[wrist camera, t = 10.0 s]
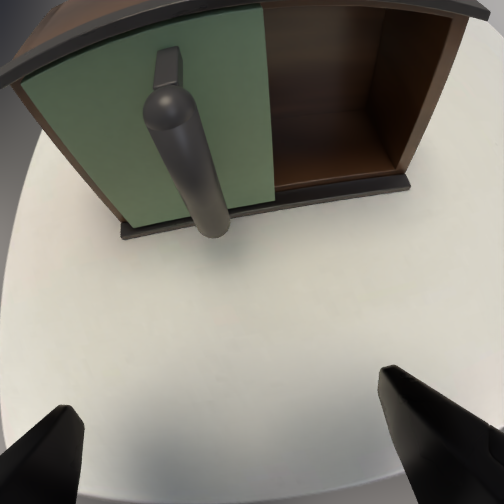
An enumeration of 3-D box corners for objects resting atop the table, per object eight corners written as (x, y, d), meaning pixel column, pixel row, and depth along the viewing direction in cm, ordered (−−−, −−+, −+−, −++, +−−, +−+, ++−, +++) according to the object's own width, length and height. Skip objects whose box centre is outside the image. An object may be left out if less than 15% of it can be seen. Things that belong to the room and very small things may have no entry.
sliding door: (287, 257, 19) (291, 64, 7) (134, 283, 19) (-15, 158, 7) (273, 193, 20) (259, 2, 9) (133, 220, 20) (24, 75, 9)
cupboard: (409, 190, 20) (491, 11, 7) (123, 240, 21) (-14, 85, 8) (369, 110, 24) (400, -49, 10) (128, 150, 24) (48, 3, 11)
